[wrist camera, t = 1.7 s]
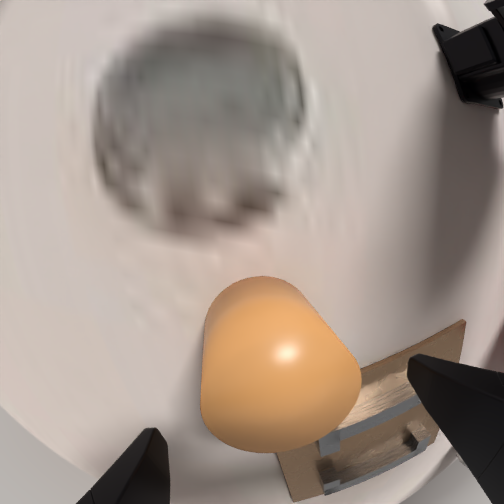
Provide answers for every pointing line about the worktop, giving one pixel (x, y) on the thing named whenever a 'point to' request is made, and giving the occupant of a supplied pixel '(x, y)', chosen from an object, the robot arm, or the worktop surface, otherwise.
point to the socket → (372, 425)
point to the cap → (273, 369)
